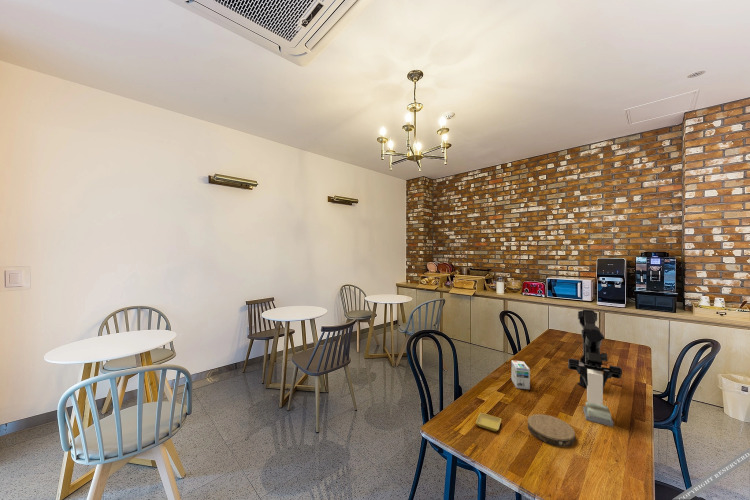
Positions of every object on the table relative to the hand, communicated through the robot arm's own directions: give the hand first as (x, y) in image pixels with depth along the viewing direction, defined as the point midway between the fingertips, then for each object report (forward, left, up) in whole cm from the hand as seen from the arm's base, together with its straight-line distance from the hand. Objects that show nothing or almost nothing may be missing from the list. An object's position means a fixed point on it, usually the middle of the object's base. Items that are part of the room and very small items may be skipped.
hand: (595, 387), depth 123 cm
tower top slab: (-2, 0, -12) cm, 12 cm away
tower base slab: (-2, 0, -14) cm, 14 cm away
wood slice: (+26, +5, -14) cm, 30 cm away
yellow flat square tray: (+47, -4, -14) cm, 49 cm away
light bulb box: (+10, -33, -14) cm, 37 cm away
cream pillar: (-1, -1, -7) cm, 7 cm away
